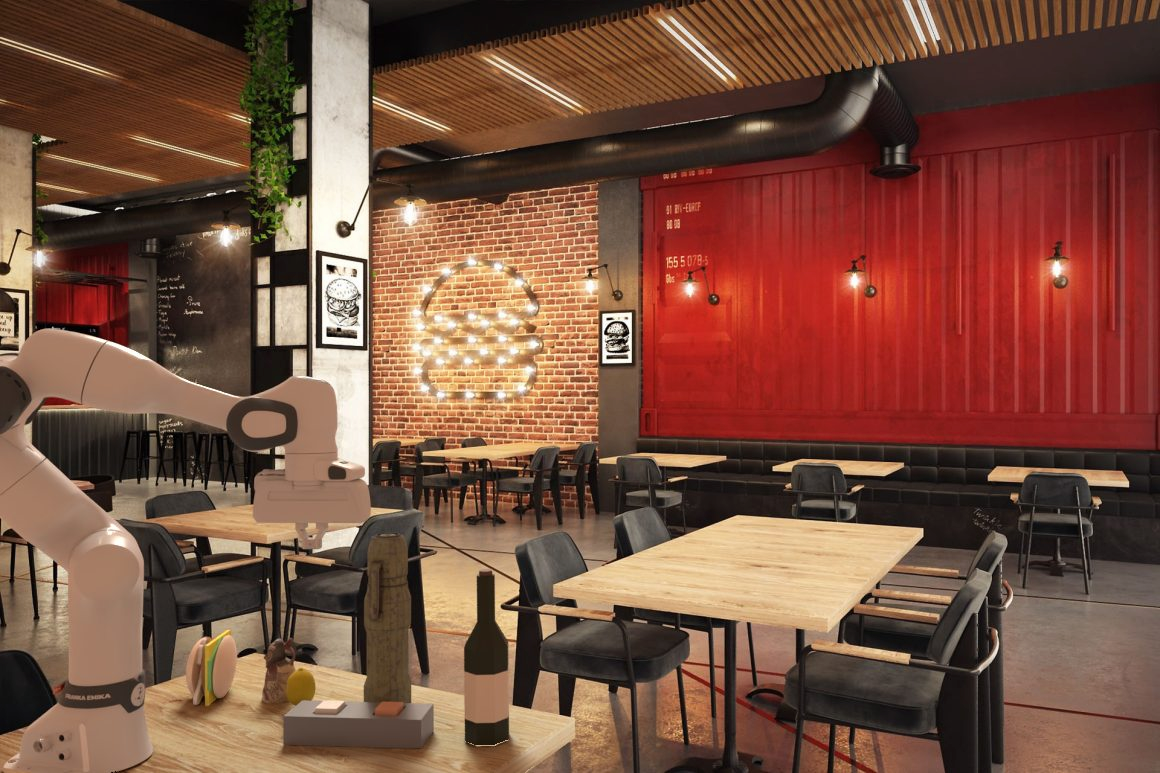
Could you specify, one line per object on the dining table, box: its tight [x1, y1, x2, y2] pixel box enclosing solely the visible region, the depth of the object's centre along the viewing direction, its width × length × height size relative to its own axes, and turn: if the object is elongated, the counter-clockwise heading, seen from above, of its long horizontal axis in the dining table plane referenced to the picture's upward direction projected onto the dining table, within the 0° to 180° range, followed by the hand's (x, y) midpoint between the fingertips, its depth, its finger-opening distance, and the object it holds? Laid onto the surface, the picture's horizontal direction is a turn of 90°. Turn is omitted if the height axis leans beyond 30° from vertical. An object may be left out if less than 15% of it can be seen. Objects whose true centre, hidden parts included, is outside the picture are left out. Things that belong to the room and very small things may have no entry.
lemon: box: [286, 667, 317, 707], centre depth 170 cm, size 6×6×8 cm
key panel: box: [282, 700, 435, 749], centre depth 155 cm, size 25×8×5 cm, turn 84°
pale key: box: [315, 700, 346, 714], centre depth 156 cm, size 4×4×4 cm
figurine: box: [261, 637, 296, 704], centre depth 177 cm, size 7×7×12 cm
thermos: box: [363, 532, 412, 703], centre depth 165 cm, size 9×12×35 cm
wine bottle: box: [463, 568, 510, 745], centre depth 155 cm, size 8×8×30 cm
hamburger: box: [185, 629, 238, 707], centre depth 179 cm, size 12×8×12 cm
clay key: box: [375, 702, 404, 716], centre depth 155 cm, size 4×4×4 cm
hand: (312, 548), depth 150 cm, fingers closed
